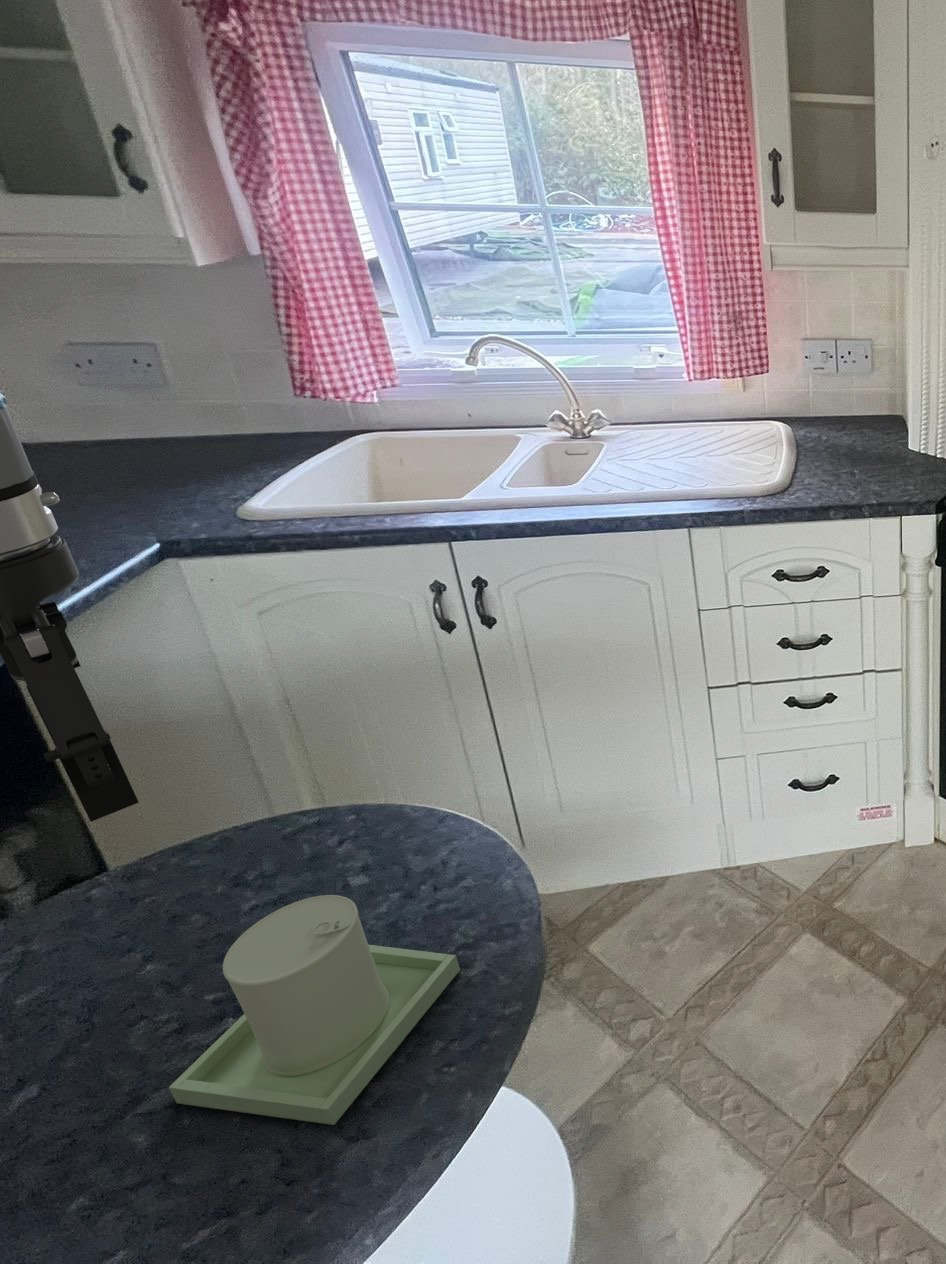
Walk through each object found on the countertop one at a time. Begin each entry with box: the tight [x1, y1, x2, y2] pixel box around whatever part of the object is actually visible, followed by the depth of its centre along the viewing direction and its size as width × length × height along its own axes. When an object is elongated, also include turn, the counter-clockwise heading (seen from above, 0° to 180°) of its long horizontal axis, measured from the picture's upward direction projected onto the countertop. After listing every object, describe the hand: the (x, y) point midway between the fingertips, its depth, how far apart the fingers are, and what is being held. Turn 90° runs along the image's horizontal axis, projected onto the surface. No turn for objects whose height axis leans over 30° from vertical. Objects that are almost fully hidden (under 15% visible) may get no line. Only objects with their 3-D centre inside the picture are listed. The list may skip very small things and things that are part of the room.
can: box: [222, 894, 389, 1076], centre depth 74 cm, size 9×9×12 cm
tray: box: [168, 944, 461, 1126], centre depth 76 cm, size 15×15×2 cm
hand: (96, 774), depth 69 cm, fingers open, 13 cm apart
